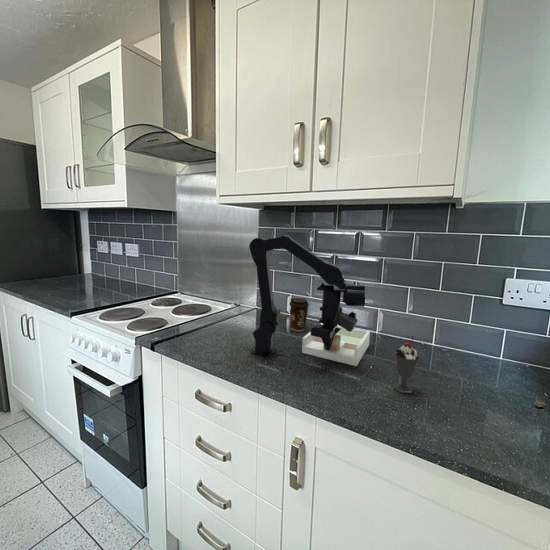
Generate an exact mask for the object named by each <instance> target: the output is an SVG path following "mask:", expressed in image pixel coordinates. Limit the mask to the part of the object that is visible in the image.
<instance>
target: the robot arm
mask: <svg viewBox="0 0 550 550" xmlns="http://www.w3.org/2000/svg"><path fill="white" fill-rule="evenodd" d="M248 247H249V251H250V255H251V259H252V261H253V262H254V264H255V267H256V274H257V281H258V288H259V289H258V290H259V298H260V305H261V309H260V314H259V324H258V325H257V327H256V328H255V330H254V331H253V332H252V336H253V338H254V339H255V340H254V349H253V350H251V351H250V353H251V354H254V355H257V356H261V357H263V358H268V357H269V356H271V355H272V354H273V353H275V352H276V350H277V349H275V348H273V334H274V333H275V332H276V331H277V329H278V328H279V326H280V325H281V324H280V323H281V321H282V317H281V308H277V307H276V305H275V304H274V303H275V302H274V293H273V285H272V284H273V283H272V278H271V277H272V276H271V269H270V263H271V262H270V261H271V257H272V255H271V254H272V251H273V250H278V249H279V250H280V249H285V251H287V252H288V253H290V254H292V255H293V256H295V258H298V260H300V261H302V262H303V263H305V264H307V266H309V267H310V268H312V269H313V270H314V272H316V273H317V275H318V276H319V277H320V278H321V279H322V280H324V281H322V282H321V283H320V284H319V285H318V286H317V291H322V300H321V301H322V302H321V306H320V307H319V311H321V318H319V320H318V323H317V324H315V325H313V326H312V327H311V328H310V332H311V336H316V337H320V338H321V339H322V341H323V343H324V346H325V348H326V350H330V348H331V345H332V342H333V339H334V336H335V335H336V334H337V333H338V332H339V331H340V330H341V328H337V325H338V326H341V327H343V328H345V329H346V330H347V331H349V332H351V331H352V330H353V329H355V327H356V325H357V323H358V318H357V313H356V312H353V311H350V312H349V313H347V312H343V307H342V306H341V296H342V303H344V304H345V306H348V307H361V308H364V307H365V304H366V291H365V290H366V286H365V285H363V284H359V285H358V284H357V285H355V284H347V280H345V278H344V276H343V271H342V268H341V267H340V266H339V265H337V264H336V263H334V262H330V261H328V260H325V259H323V258H321V257H319V256H318V255H316V254H314V253H313V252H312V251H310V250H309V249H308V248H306V247H305V246H303V245H302V244H300V243H298V241H296V240H294V239H292V237H291V236H289V235H287V234H285V235H284V234H283V235H281V236H279V237H273V238H266V237H257V238H253V239H252V240H251V241H250V242H249V246H248ZM325 283H326V284H325ZM321 323H323V325H321Z"/></svg>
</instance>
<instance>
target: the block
mask: <svg viewBox="0 0 550 550" xmlns="http://www.w3.org/2000/svg"><path fill="white" fill-rule="evenodd" d="M340 342H341V335H335V336H334V339H333V342H332V345H331V348H330V350H328V351H332V352H337V351H338V350H339V349H340ZM323 349H324V350H326V348H325V346H323Z"/></svg>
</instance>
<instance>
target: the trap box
mask: <svg viewBox="0 0 550 550" xmlns="http://www.w3.org/2000/svg"><path fill="white" fill-rule="evenodd" d="M320 324H321V325H323V323H320ZM337 328H341V330H340V331H339V332H338V333H337V334H336V335H341V342H340V349H339V350H338V351H337V352H332V351H328V350H324V349H323V346H324V343H323V341H322V339H321V338H320V337H316V336H311V331H309V332H308V333H307V334H305V335H304V336H303V337H302V344H301V346H302V347H301V353H302V354H306V355H310V356H314V357H317V358H322V359H327V360H330V361H333V362H338V363H342V364H347V365H349V366H353V367H358V364H359V363H360V361H362V358H363V356H364V354H365V353H366V351H367V349H369V348H368V347H369V346H370V340H371V339H370V337H371V331H369V330H363V329H358V328H354V329H353V330H352V331H351V332H349V331H347V330H346V329H345V328H343V327H341V326H339V325H337Z"/></svg>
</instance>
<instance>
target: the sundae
mask: <svg viewBox="0 0 550 550" xmlns="http://www.w3.org/2000/svg"><path fill="white" fill-rule="evenodd" d="M410 338H411V339H410V340H409V341H406V342H405V343H404V344H402V345H401V346H400V347H399V348H398V349H395V351H394V352H393V354H394V356H395V357H396V370H397V373H398V375H399V377H401V383H397V384H395V388H396V389H398V390H401V391H410V390H411V389H410V387H411V386H409V385H407V380H408V379H410V378H411V377H413V375H414V374H415V371H416V365H417V364H418V362H419V361H420V360H421V355H419V354H418V352H417V350H416V349H415V345H414V338H415V336H413V335H412V336H411V337H410ZM411 341H412V342H411ZM410 342H411V343H410ZM408 386H409V387H408Z"/></svg>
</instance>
